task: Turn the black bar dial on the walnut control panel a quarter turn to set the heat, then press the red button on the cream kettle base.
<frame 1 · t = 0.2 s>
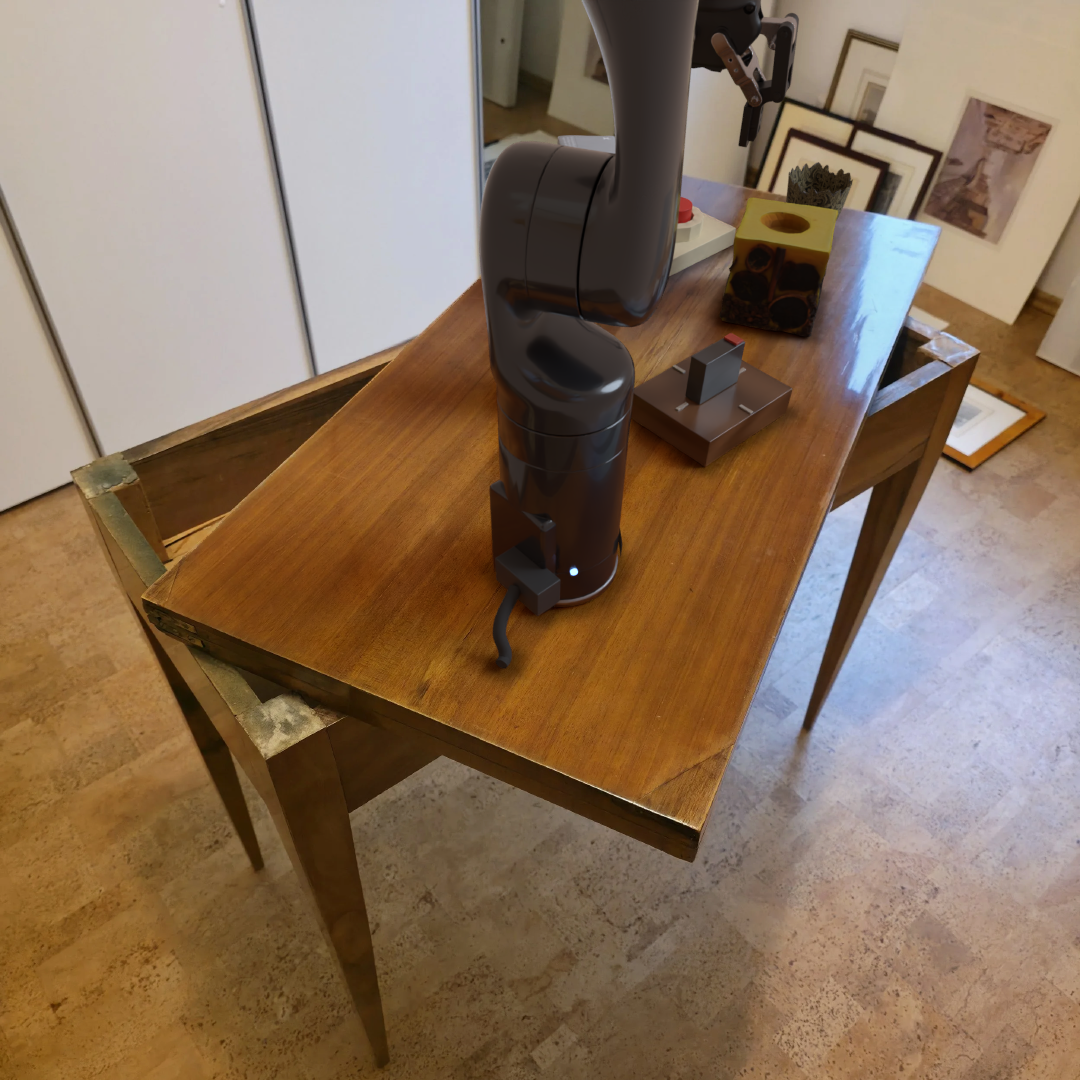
hand: (698, 134, 78), 21 cm above the table, tool pointing down, fingers open, 8 cm apart
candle: (769, 309, 99), on the table
dial panel: (706, 414, 85), on the table
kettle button: (674, 210, 105), point 4 cm above the table, slide at 0.1 cm
cup 2: (805, 240, 109), on the table
cosmetic box: (582, 288, 101), on the table
kettle base: (670, 245, 108), on the table
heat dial: (715, 368, 81), point 5 cm above the table, hinge at 0.0°
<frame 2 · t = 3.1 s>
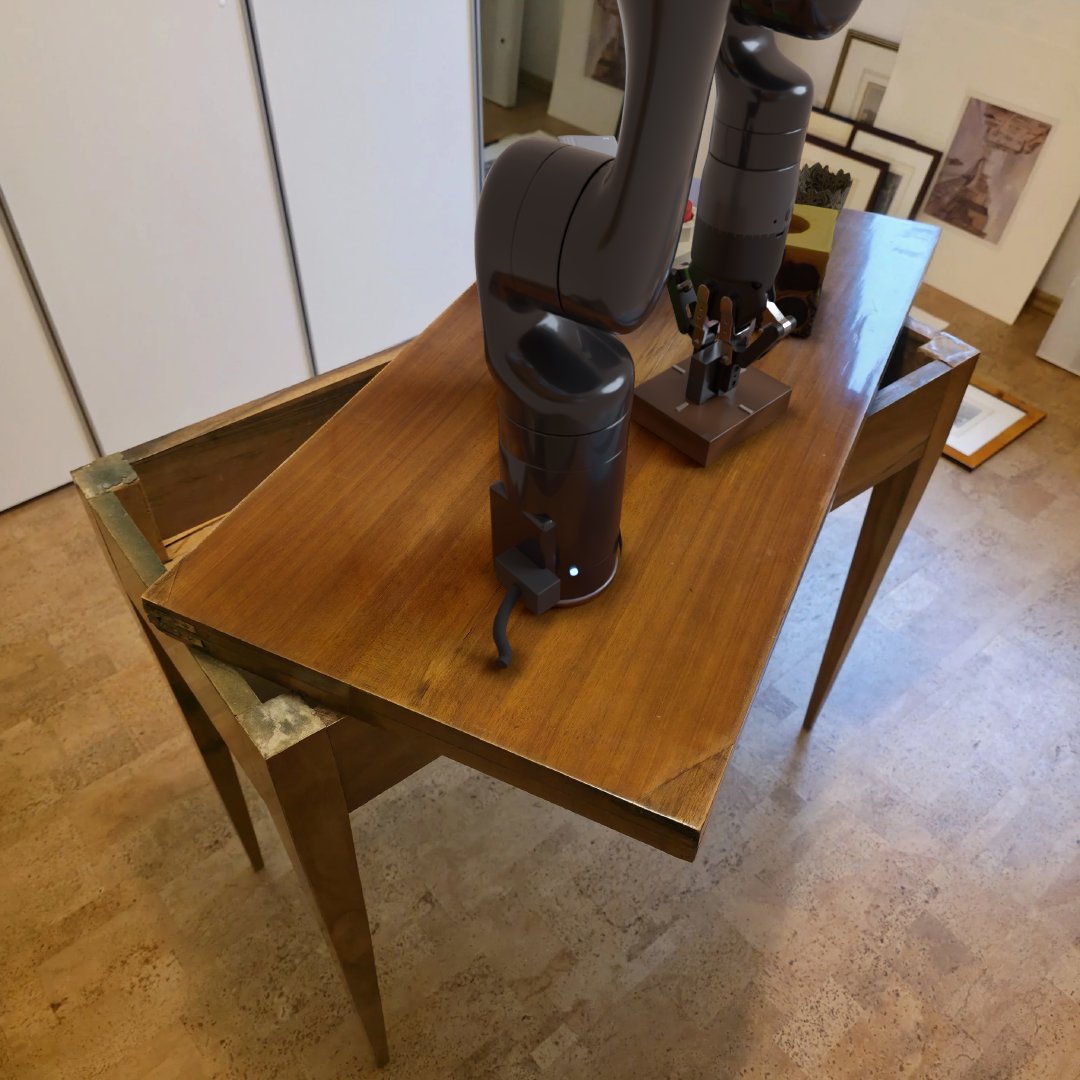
hand: (712, 384, 82), 4 cm above the table, tool pointing down, fingers closed on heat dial, 2 cm apart
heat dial: (715, 368, 81), point 5 cm above the table, hinge at 0.1°, touching gripper
everything else where it was.
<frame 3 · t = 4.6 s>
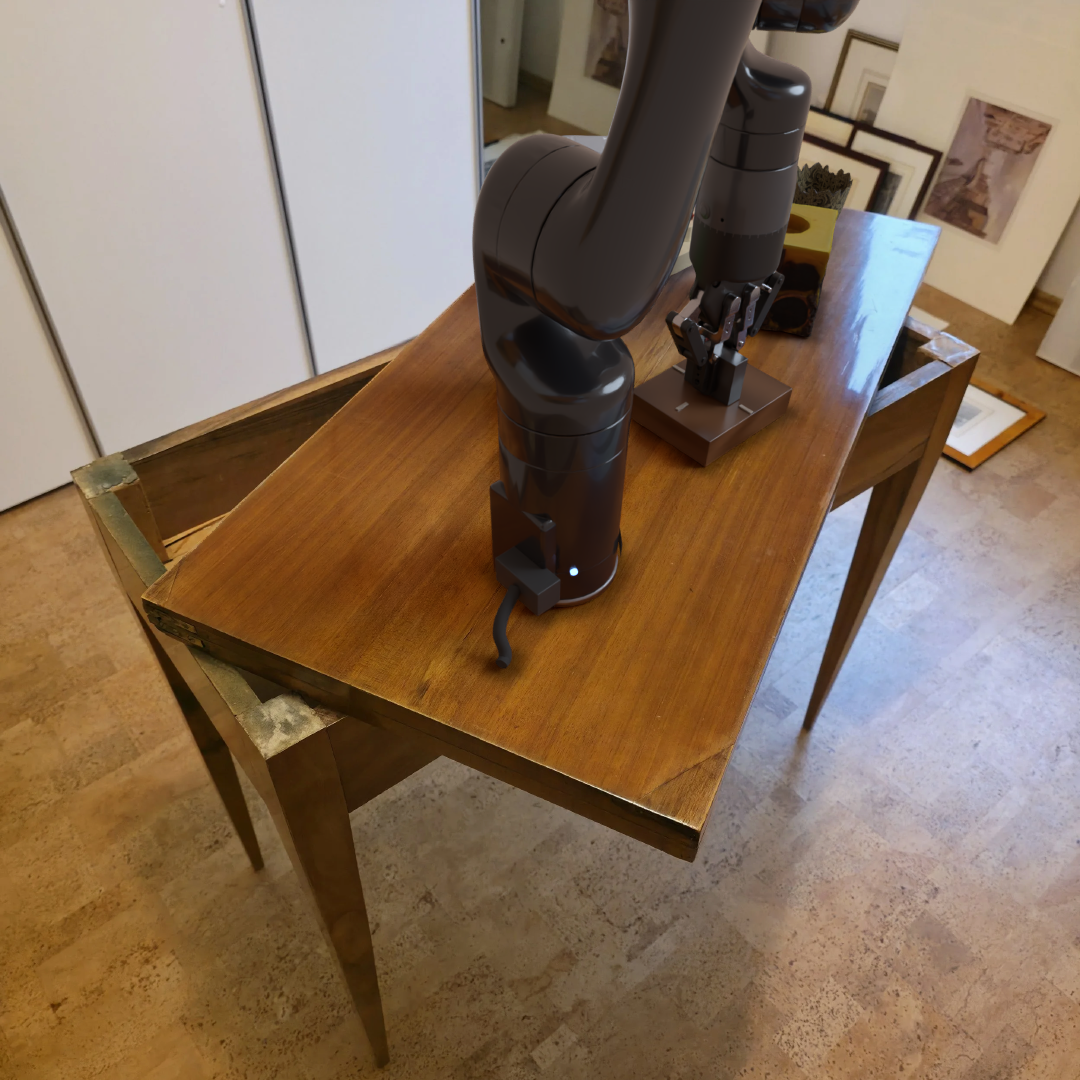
hand: (711, 384, 83), 4 cm above the table, tool pointing down, fingers closed, pressing on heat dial
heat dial: (715, 368, 81), point 5 cm above the table, hinge at 89.3°, touching gripper
everything else where it was.
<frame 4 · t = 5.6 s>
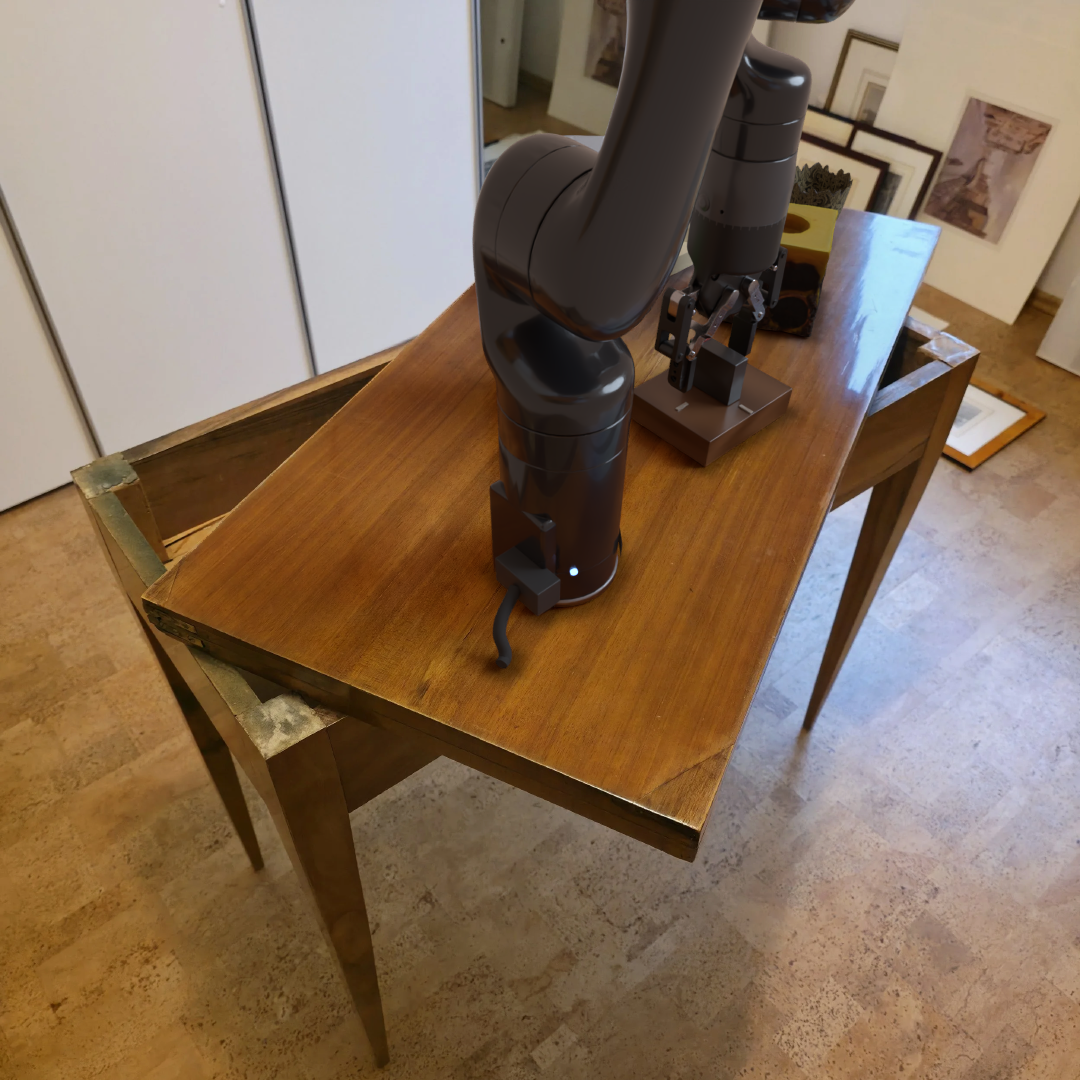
hand: (709, 369, 81), 5 cm above the table, tool pointing down, fingers open, 8 cm apart
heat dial: (715, 368, 81), point 5 cm above the table, hinge at 89.2°
everything else where it was.
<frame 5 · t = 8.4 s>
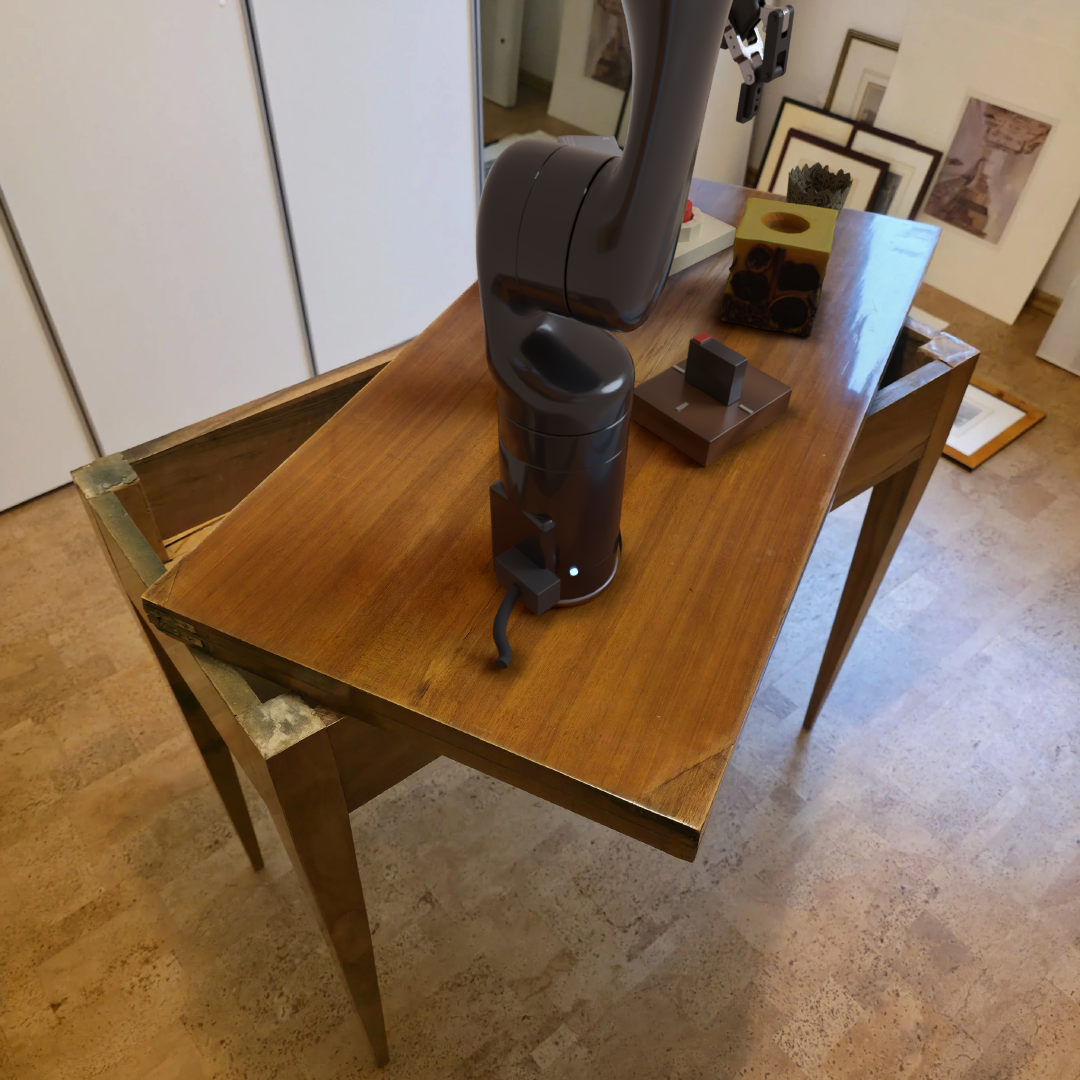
hand: (709, 108, 89), 19 cm above the table, tool pointing down, fingers open, 8 cm apart
nothing on the table moved.
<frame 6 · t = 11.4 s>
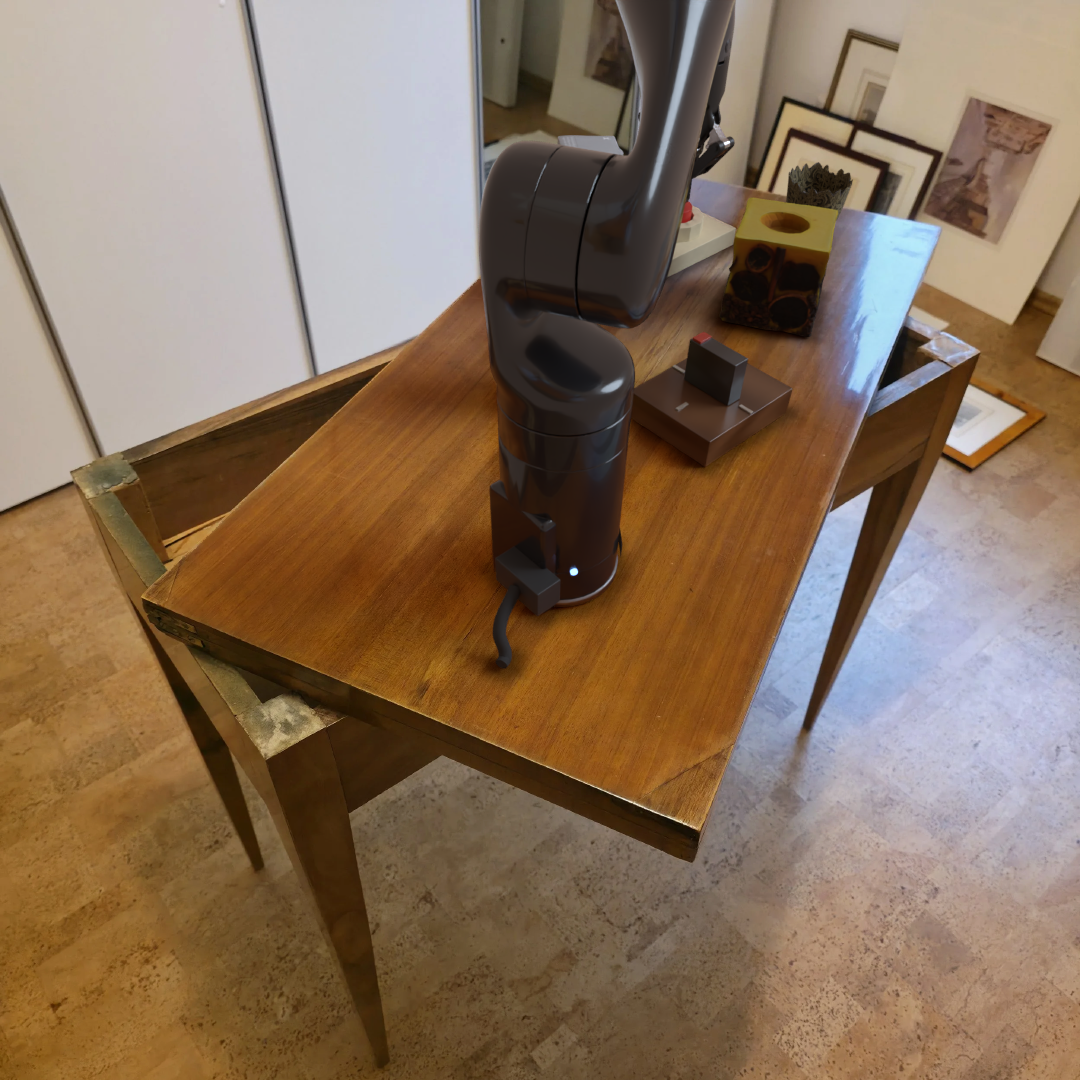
hand: (675, 204, 104), 5 cm above the table, tool pointing down, fingers closed
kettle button: (674, 212, 105), point 4 cm above the table, slide at -0.1 cm, touching gripper
everything else where it was.
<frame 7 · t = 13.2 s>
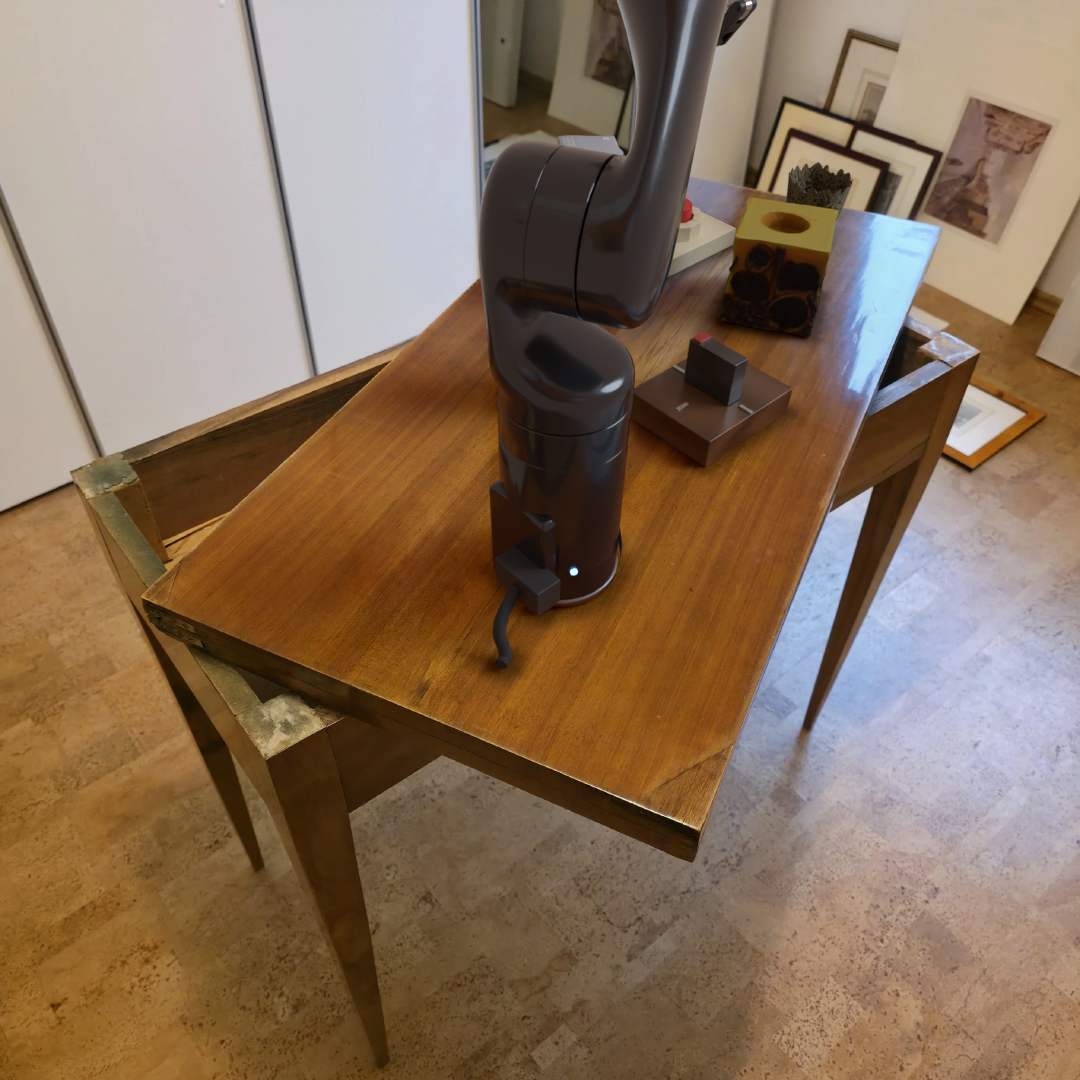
hand: (690, 85, 95), 19 cm above the table, tool pointing down, fingers closed
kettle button: (674, 210, 105), point 4 cm above the table, slide at 0.1 cm
everything else where it was.
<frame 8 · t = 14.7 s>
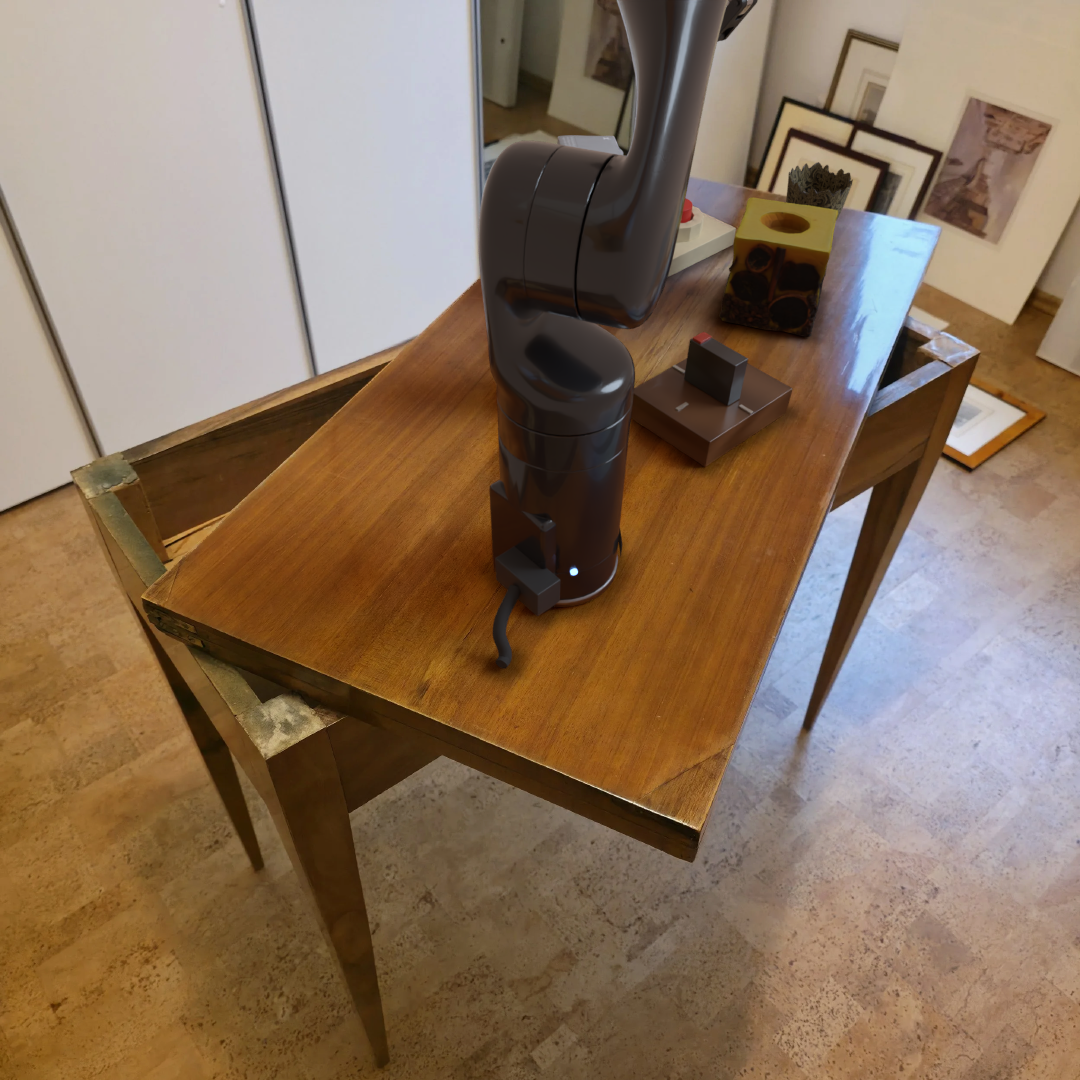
hand: (690, 81, 94), 19 cm above the table, tool pointing down, fingers closed
nothing on the table moved.
at the end: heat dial at +89° (first picture: +0°); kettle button pushed in 1.0 cm at the most during the clip, back to where it started at the end; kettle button slide at 0.1 cm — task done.
